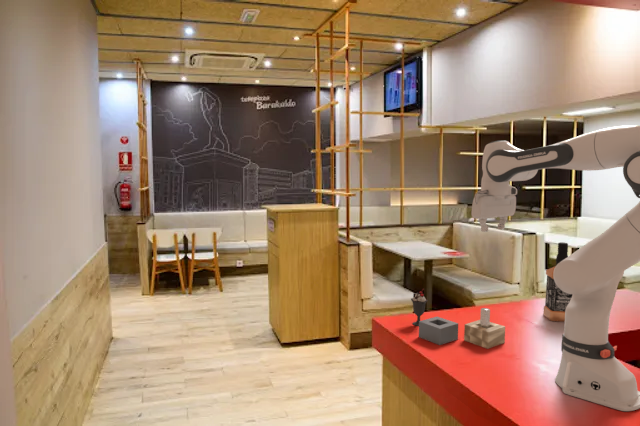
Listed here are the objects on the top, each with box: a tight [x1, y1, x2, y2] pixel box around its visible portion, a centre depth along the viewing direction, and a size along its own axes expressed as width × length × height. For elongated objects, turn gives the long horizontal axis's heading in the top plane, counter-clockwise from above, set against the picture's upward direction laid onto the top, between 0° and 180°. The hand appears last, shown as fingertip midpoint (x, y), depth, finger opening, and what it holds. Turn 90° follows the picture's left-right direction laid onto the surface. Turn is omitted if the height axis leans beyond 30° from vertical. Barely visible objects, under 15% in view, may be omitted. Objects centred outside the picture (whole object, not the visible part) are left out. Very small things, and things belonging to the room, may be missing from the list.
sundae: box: [410, 288, 429, 327], centre depth 192 cm, size 7×7×15 cm
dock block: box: [418, 316, 459, 346], centre depth 177 cm, size 10×10×6 cm
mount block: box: [463, 319, 506, 350], centre depth 173 cm, size 10×10×6 cm
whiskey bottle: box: [542, 242, 573, 323], centre depth 199 cm, size 10×10×32 cm
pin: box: [479, 307, 491, 329], centre depth 173 cm, size 3×3×12 cm
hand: (492, 230), depth 162 cm, fingers open, 8 cm apart
